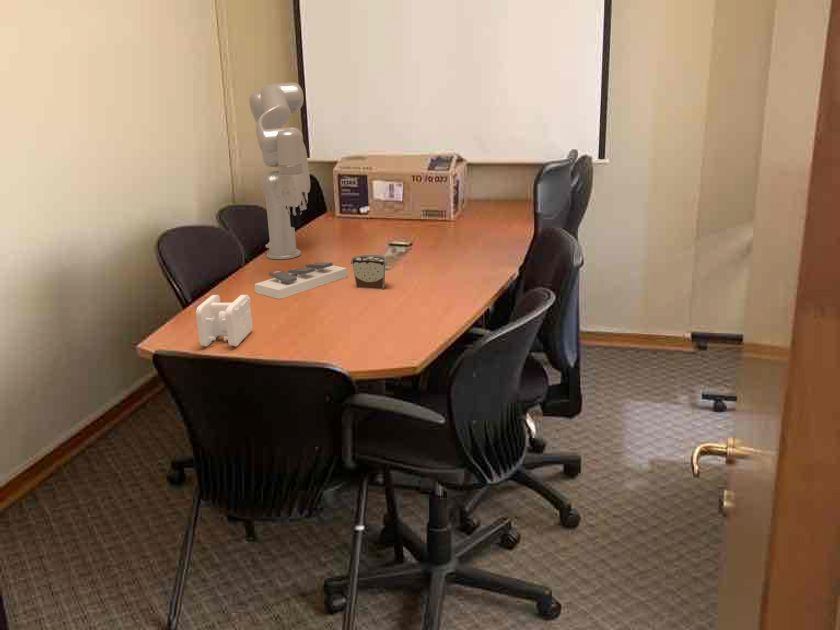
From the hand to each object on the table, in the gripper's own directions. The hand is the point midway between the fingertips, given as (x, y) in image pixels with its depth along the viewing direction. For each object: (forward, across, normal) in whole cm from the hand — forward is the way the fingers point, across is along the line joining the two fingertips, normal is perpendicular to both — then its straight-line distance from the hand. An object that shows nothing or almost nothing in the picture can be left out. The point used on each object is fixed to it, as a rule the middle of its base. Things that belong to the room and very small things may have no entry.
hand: (296, 226), depth 284 cm
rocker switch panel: (+20, 0, 0) cm, 20 cm away
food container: (+20, +21, +13) cm, 32 cm away
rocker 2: (+15, 0, 0) cm, 15 cm away
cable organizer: (+21, +24, -47) cm, 57 cm away
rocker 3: (+15, 0, +8) cm, 17 cm away
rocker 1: (+15, 0, -8) cm, 17 cm away
